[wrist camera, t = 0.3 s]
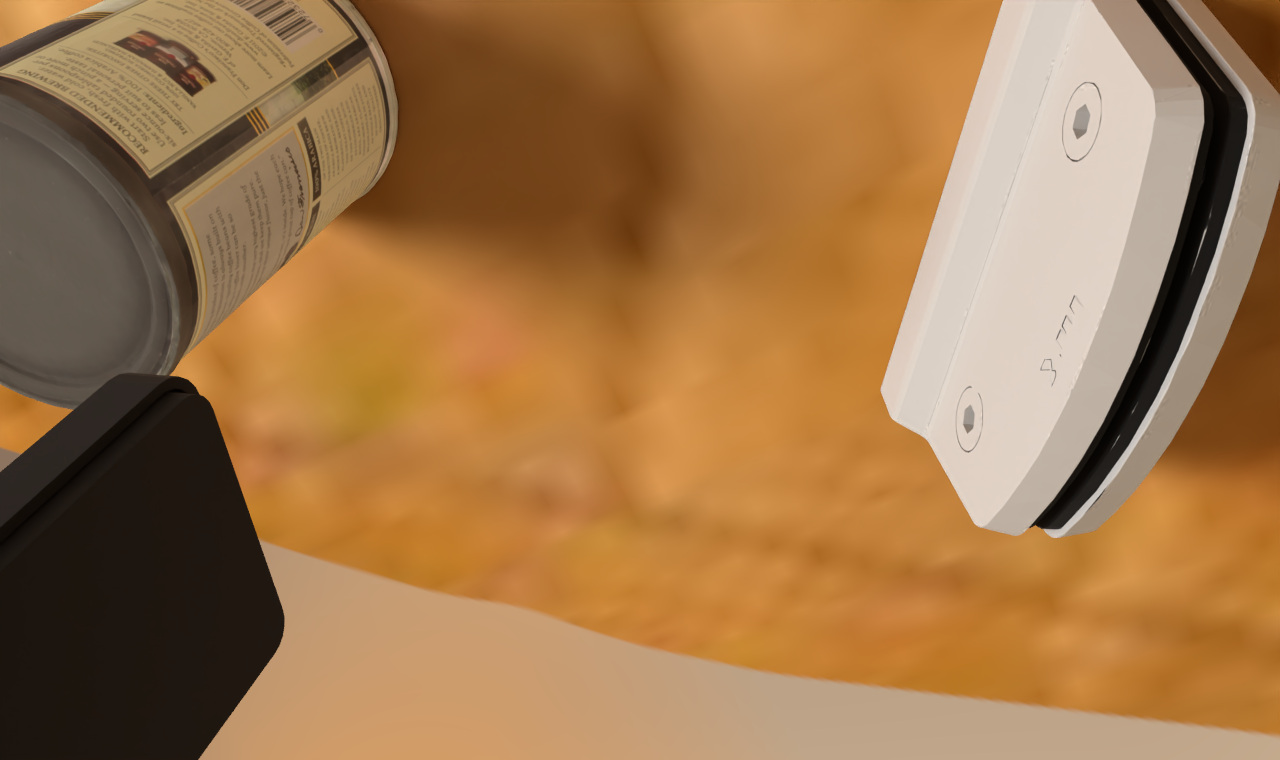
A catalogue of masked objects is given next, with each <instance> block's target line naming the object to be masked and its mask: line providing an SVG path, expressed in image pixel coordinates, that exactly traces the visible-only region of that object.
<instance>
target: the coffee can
mask: <svg viewBox="0 0 1280 760" xmlns="http://www.w3.org/2000/svg"><path fill="white" fill-rule="evenodd" d="M397 130H398V101H397V97H396V93H395V88H394V83H393V78H392V75H391V72H390V69H389V66H388V62H387V59H386V57H385V55H384V53H383V51H382V49H381V47H380V45H379V43H378V41H377V38H376V37H375V35H374V33H373V32H372V30H371V29H370V27H369V25H368V24H367V23H366V21H365V20H364V18H363V17H362V16H361V14H360V13H359V12H358V11H357V9H356V8H355V7H354V5H353V4H352V3H351V2H350V1H349V0H104V1H102V2H100V3H98V4H96V5H94V6H91V7H89V8H87V9H85V10H82V11H80V12H78V13H76V14H74V15H71V16H69V17H67V18H65V19H63V20H60V21H58V22H56V23H54V24H52V25H49V26H47V27H45V28H43V29H40V30H38V31H36V32H33V33H31V34H29V35H27V36H25V37H23V38H20V39H18V40H16V41H14V42H12V43H10V44H7V45H5V46H3V47H0V384H1V385H3V386H5V387H7V388H9V389H11V390H13V391H15V392H17V393H19V394H22V395H24V396H26V397H29V398H32V399H35V400H37V401H41V402H43V403H46V404H50V405H53V406H57V407H63V408H67V409H73V410H74V409H76V408H77V407H78V406H79V405H80V404H81V403H83V402H84V401H85V400H86V399H87V398H89V397H90V396H91V395H92V394H93V393H94V392H96V391H97V390H98V389H99V388H100V387H102V386H103V385H104V384H105V383H106V382H107V381H109V380H110V379H112V378H113V377H115V376H117V375H118V374H122V373H142V374H153V375H165V376H169V375H170V374H171V373H172V372H173V371H174V369H175V368H176V366H177V365H178V363H179V361H180V360H181V359H182V358H183V357H184V356H186V355H187V354H188V353H189V352H190V351H191V350H192V349H193V348H194V347H195V346H197V345H198V344H199V343H200V342H201V341H202V340H203V339H204V338H205V337H206V336H207V335H209V334H210V333H211V332H212V331H213V330H214V329H215V328H216V327H217V326H218V325H219V324H221V323H222V322H223V321H224V320H225V319H226V318H227V317H228V316H229V315H230V314H231V313H232V312H234V311H235V310H236V309H237V308H238V307H239V306H240V305H241V304H242V303H243V302H244V301H245V300H246V299H247V298H248V297H250V296H251V295H252V294H253V293H254V292H255V291H256V290H257V289H258V288H259V287H261V286H262V285H263V284H264V283H265V282H266V281H267V280H268V279H269V278H271V277H272V276H273V275H274V274H275V273H276V272H277V271H278V270H279V269H280V268H281V267H283V266H284V265H285V264H286V263H287V262H288V261H289V260H290V259H291V258H292V257H293V256H294V255H295V254H297V253H298V252H299V251H300V250H301V249H302V248H303V247H304V246H305V245H306V244H308V243H309V242H310V241H311V240H312V239H313V238H314V237H315V236H317V235H318V234H319V233H320V232H321V231H322V230H323V229H324V228H325V227H326V226H327V225H328V224H329V223H330V222H332V221H333V220H334V219H335V218H336V217H337V216H338V215H339V214H340V213H342V212H343V211H344V210H345V209H346V208H347V207H348V206H349V205H350V204H351V203H352V202H354V201H356V200H357V199H359V198H360V197H362V196H363V195H365V194H366V193H367V192H368V191H369V190H370V189H371V188H372V187H373V186H374V185H375V184H376V182H377V181H378V180H379V179H380V177H381V176H382V175H383V173H384V171H385V170H386V168H387V166H388V164H389V161H390V159H391V157H392V154H393V151H394V147H395V142H396V137H397Z"/></svg>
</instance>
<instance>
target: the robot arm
mask: <svg viewBox="0 0 1280 760" xmlns="http://www.w3.org/2000/svg"><path fill="white" fill-rule="evenodd" d="M283 631H284V613H283V609H282V606H281V603H280V600H279V597H278V594H277V591H276V588H275V586H274V583H273V580H272V577H271V574H270V571H269V569H268V566H267V563H266V560H265V557H264V554H263V551H262V548H261V545H260V542H259V540H258V537H257V534H256V531H255V528H254V525H253V522H252V520H251V517H250V514H249V511H248V508H247V505H246V502H245V499H244V497H243V494H242V491H241V488H240V485H239V482H238V479H237V476H236V474H235V471H234V468H233V465H232V462H231V459H230V456H229V453H228V451H227V448H226V445H225V442H224V439H223V436H222V433H221V431H220V428H219V425H218V422H217V419H216V416H215V413H214V410H213V408H212V406H211V404H210V402H209V401H208V400H207V399H206V398H205V397H204V396H201V395H199V393H198V391H197V389H196V387H195V386H194V385H193V384H192V383H191V382H190V381H189V380H187V379H184V378H181V377H177V376H165V375H153V374H142V373H122V374H118V375H117V376H115V377H113V378H112V379H110V380H109V381H107V382H106V383H105V384H104V385H103V386H102V387H100V388H99V389H98V390H97V391H96V392H94V393H93V394H92V395H91V396H90V397H89V398H87V399H86V400H85V401H84V402H83V403H81V404H80V405H79V406H78V407H77V408H76V409H74V410H73V411H72V412H71V413H70V414H68V415H67V416H66V417H65V418H64V419H63V420H61V421H60V422H59V423H58V424H57V425H56V426H54V427H53V428H52V429H51V430H50V431H48V432H47V433H46V434H45V435H44V436H43V437H41V438H40V439H39V440H38V441H37V442H35V443H34V444H33V445H32V446H31V447H30V448H28V449H27V450H26V451H25V452H24V453H23V454H21V455H20V456H19V457H18V458H17V459H15V460H14V461H13V462H12V463H11V464H10V465H9V466H7V467H6V468H5V469H4V470H2V471H1V472H0V760H198V759H199V758H200V756H201V755H202V754H203V752H204V751H205V749H206V748H207V747H208V745H209V744H210V743H211V741H212V740H213V738H214V737H215V736H216V734H217V733H218V732H219V730H220V728H221V727H222V726H223V724H224V723H225V722H226V720H227V719H228V718H229V716H230V715H231V713H232V712H233V711H234V709H235V708H236V707H237V705H238V704H239V702H240V701H241V700H242V698H243V697H244V695H245V694H246V693H247V691H248V690H249V688H250V687H251V686H252V684H253V683H254V682H255V680H256V679H257V677H258V676H259V675H260V673H261V672H262V671H263V669H264V667H265V666H266V665H267V663H268V662H269V661H270V659H271V658H272V657H273V655H274V654H275V652H276V650H277V649H278V647H279V645H280V642H281V639H282V637H283Z"/></svg>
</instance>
